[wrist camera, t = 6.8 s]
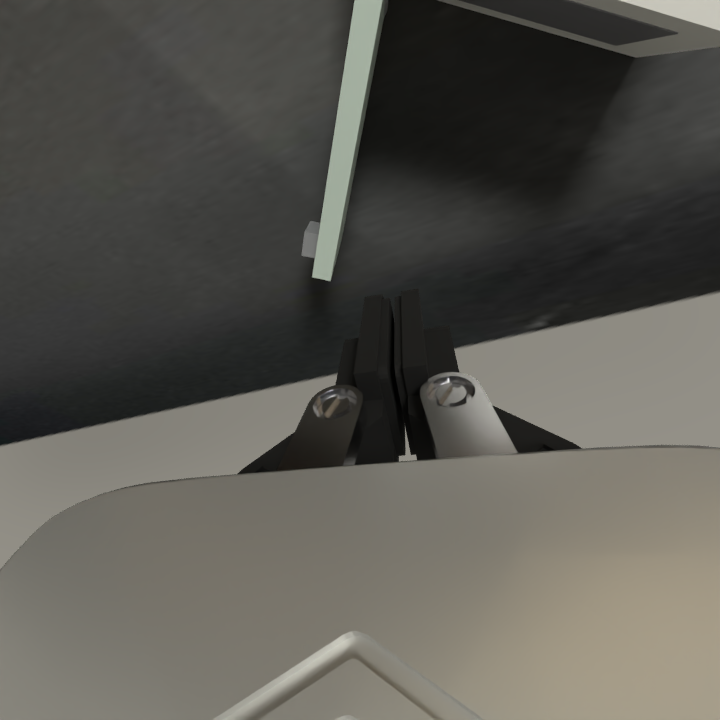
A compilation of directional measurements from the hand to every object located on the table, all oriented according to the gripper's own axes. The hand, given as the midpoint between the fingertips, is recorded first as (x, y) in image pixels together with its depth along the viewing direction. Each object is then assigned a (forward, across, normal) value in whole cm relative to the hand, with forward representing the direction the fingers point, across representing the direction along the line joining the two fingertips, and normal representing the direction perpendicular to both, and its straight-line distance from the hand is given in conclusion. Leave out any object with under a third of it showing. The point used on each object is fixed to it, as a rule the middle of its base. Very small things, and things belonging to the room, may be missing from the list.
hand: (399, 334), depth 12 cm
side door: (+16, +2, -5) cm, 16 cm away
